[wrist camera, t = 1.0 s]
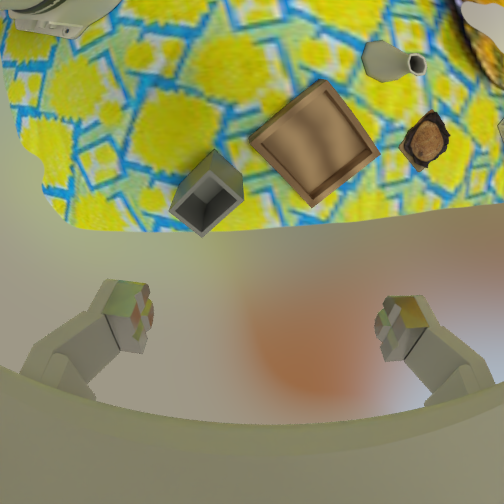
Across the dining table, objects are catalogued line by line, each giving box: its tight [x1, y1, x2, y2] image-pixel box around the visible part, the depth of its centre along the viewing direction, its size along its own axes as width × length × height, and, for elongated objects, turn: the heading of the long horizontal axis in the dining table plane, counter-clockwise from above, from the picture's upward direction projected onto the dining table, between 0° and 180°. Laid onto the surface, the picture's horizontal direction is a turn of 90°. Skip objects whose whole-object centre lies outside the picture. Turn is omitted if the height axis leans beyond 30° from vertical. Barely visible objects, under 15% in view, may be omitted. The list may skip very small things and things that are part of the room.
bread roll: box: [399, 109, 450, 172], centre depth 39 cm, size 11×8×4 cm
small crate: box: [169, 149, 244, 237], centre depth 40 cm, size 8×6×9 cm
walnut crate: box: [249, 79, 380, 208], centre depth 39 cm, size 14×14×4 cm
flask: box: [362, 40, 427, 83], centre depth 28 cm, size 7×7×10 cm
